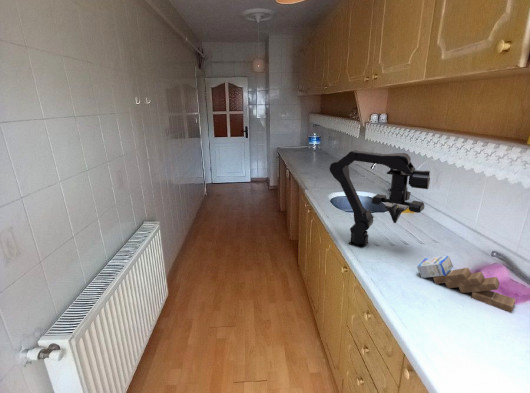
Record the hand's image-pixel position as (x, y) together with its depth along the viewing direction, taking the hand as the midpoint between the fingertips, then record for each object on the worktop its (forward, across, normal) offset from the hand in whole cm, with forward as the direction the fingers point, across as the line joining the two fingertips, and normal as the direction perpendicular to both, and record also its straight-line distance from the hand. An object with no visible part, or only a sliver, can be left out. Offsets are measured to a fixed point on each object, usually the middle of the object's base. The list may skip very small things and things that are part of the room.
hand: (395, 222), depth 120 cm
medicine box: (+11, -14, +9) cm, 20 cm away
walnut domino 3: (+12, -27, +12) cm, 32 cm away
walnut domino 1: (+12, -20, +11) cm, 26 cm away
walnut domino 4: (+12, -31, +12) cm, 35 cm away
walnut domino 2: (+12, -23, +11) cm, 29 cm away
